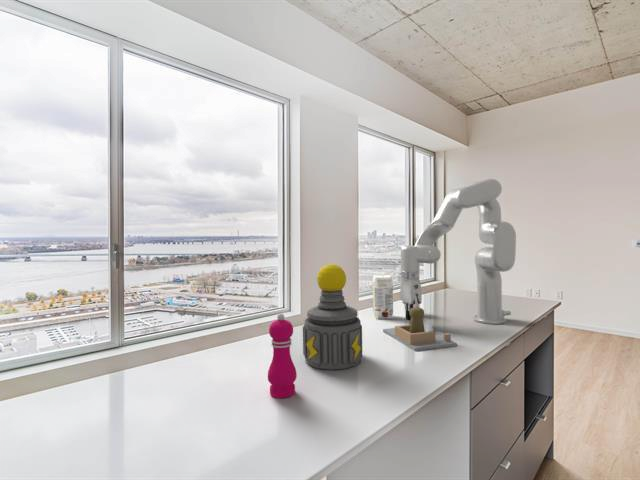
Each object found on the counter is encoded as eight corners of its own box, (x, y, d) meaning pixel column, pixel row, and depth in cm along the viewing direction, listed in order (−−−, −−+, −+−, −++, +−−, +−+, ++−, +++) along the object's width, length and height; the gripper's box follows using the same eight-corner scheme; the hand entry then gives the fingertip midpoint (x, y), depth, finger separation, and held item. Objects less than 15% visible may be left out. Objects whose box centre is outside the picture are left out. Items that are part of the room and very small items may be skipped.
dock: (419, 327, 148) (419, 316, 148) (456, 345, 125) (456, 332, 125) (383, 331, 144) (382, 320, 143) (414, 351, 120) (414, 337, 120)
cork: (427, 336, 132) (426, 306, 132) (424, 341, 127) (424, 310, 126) (410, 335, 135) (409, 305, 134) (406, 339, 129) (406, 309, 129)
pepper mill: (285, 402, 86) (283, 318, 86) (262, 395, 90) (260, 315, 90) (302, 390, 93) (301, 312, 92) (280, 384, 96) (278, 309, 96)
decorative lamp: (336, 377, 101) (334, 268, 100) (290, 361, 113) (288, 265, 112) (375, 358, 114) (373, 263, 114) (330, 346, 127) (328, 260, 126)
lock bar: (418, 326, 147) (418, 315, 146) (433, 332, 137) (432, 321, 137) (415, 326, 146) (415, 316, 146) (429, 333, 137) (429, 322, 136)
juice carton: (394, 319, 163) (393, 276, 162) (374, 319, 163) (374, 277, 162) (391, 315, 170) (390, 274, 170) (372, 315, 170) (372, 275, 170)
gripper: (428, 277, 144) (428, 323, 145) (409, 273, 159) (409, 315, 159) (411, 278, 142) (411, 325, 143) (393, 273, 157) (393, 316, 157)
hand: (410, 319), depth 151 cm, fingers closed
